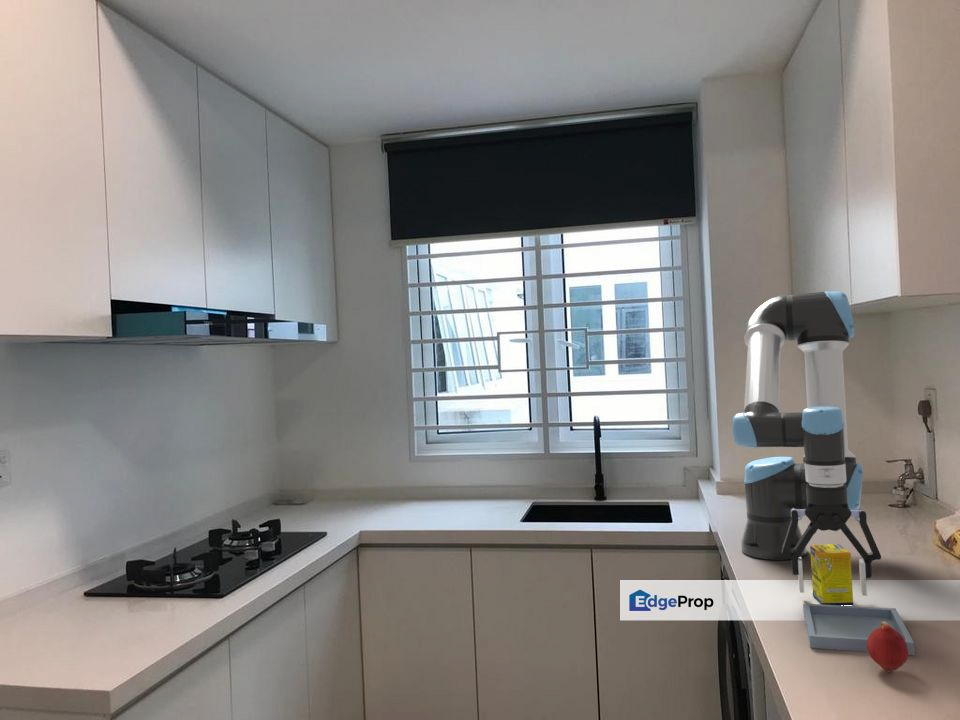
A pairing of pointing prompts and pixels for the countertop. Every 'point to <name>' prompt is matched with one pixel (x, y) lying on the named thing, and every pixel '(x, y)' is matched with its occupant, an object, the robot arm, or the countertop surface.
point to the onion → (887, 647)
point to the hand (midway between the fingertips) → (832, 591)
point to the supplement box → (831, 574)
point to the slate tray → (849, 626)
